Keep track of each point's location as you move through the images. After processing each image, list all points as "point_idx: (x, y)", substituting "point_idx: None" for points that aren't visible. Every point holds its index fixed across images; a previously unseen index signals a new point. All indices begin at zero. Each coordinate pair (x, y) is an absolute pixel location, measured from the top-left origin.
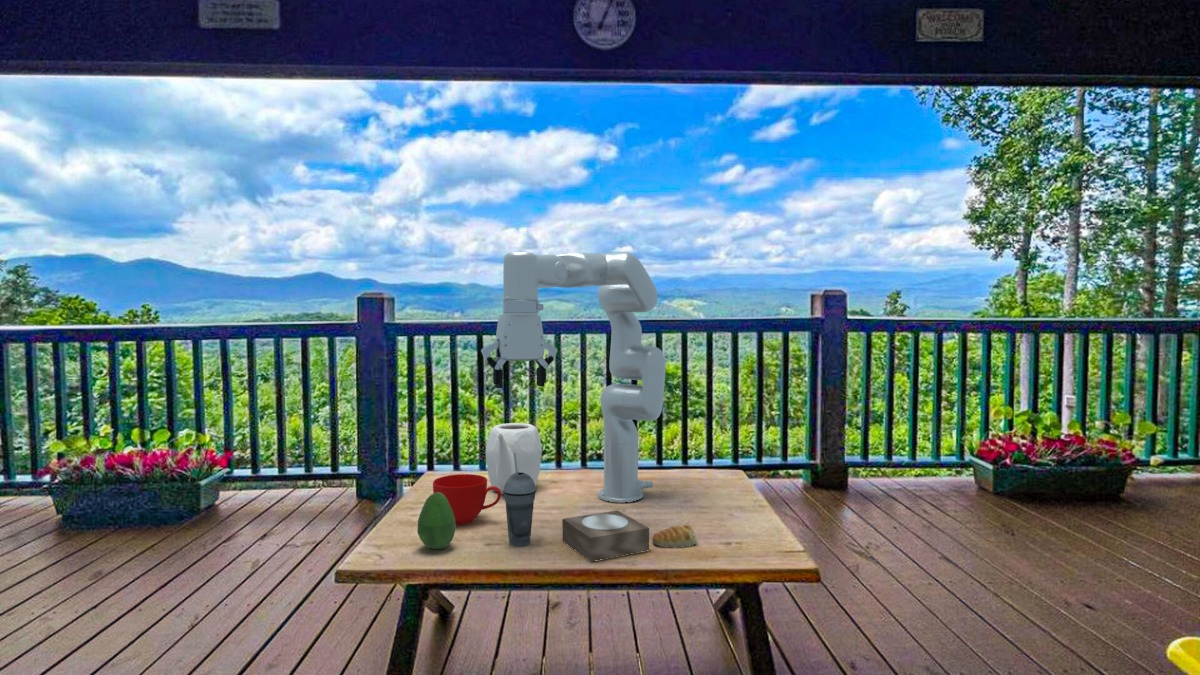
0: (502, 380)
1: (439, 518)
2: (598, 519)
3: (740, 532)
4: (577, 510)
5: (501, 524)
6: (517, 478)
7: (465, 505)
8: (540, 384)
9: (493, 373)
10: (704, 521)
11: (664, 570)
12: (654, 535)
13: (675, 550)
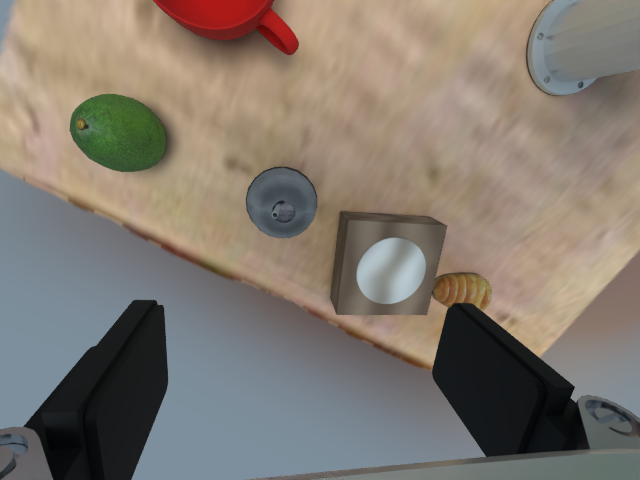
0: (147, 430)
1: (114, 168)
2: (389, 260)
3: (545, 296)
4: (450, 76)
5: (290, 71)
6: (270, 228)
7: (210, 38)
8: (438, 371)
9: (41, 412)
10: (551, 241)
11: (386, 350)
12: (442, 284)
13: (439, 309)
